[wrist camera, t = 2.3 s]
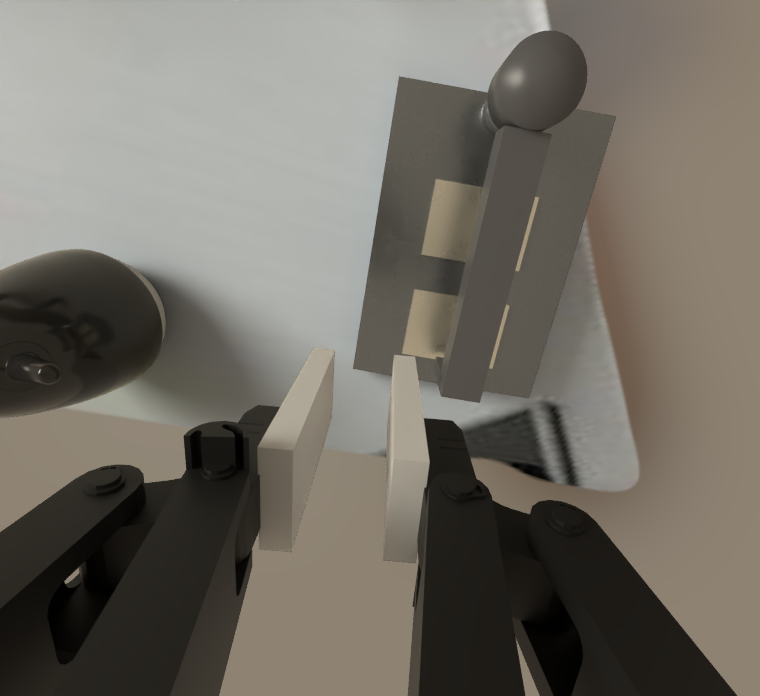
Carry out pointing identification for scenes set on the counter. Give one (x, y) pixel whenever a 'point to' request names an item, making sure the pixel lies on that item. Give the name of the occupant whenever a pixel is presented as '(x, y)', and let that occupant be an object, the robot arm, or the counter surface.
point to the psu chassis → (468, 232)
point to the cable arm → (508, 198)
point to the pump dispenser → (73, 330)
